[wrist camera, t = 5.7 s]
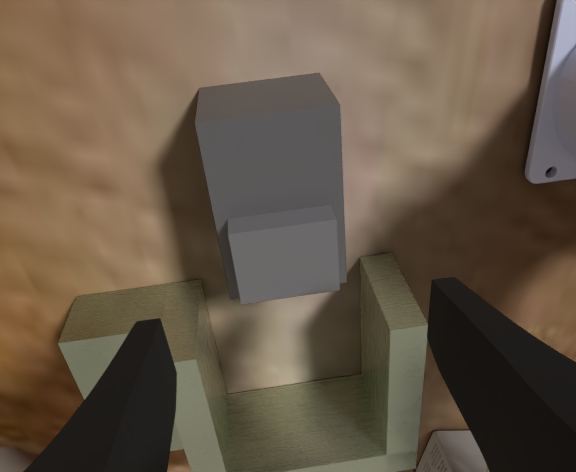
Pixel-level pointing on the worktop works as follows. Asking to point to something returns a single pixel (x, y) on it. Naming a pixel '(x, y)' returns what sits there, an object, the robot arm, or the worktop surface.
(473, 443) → the coffee box
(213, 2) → the worktop surface
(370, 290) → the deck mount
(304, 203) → the stepped gray box
